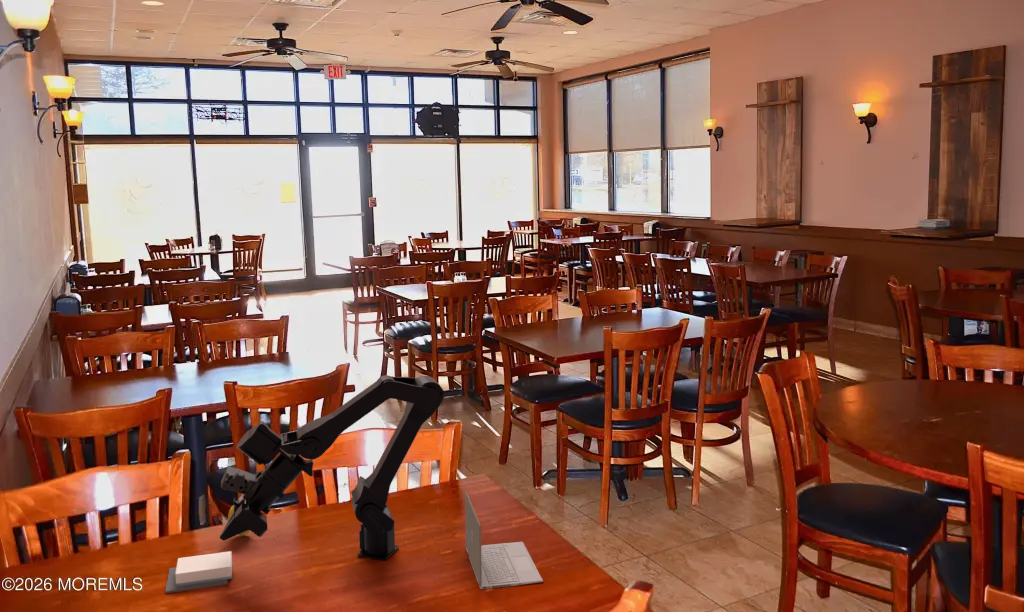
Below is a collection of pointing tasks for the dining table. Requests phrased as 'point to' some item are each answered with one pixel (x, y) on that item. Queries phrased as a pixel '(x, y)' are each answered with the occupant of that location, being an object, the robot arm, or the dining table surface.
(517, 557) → the laptop
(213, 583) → the mat
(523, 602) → the dining table surface
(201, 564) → the white rectangular block
